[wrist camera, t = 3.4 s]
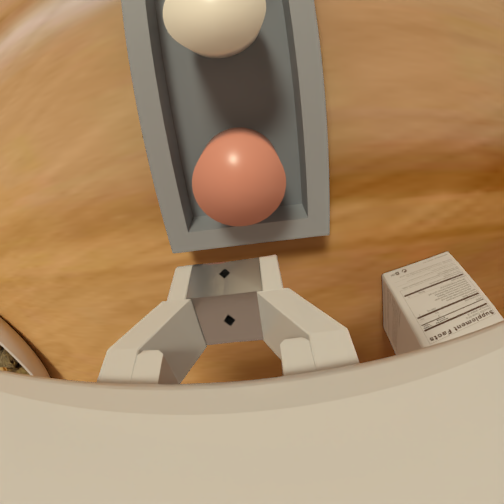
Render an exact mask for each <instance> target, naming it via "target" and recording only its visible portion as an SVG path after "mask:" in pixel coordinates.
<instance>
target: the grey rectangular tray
mask: <svg viewBox="0 0 504 504" xmlns="http://www.w3.org/2000/svg"><path fill="white" fill-rule="evenodd" d="M121 2H122V12H123V21H124V29H125V37H126V44H127V51H128V58H129V64H130V70H131V77H132V82H133V88H134V94H135V99H136V104H137V110H138V115H139V120H140V125H141V130H142V134H143V139H144V143H145V148H146V152H147V157H148V161H149V165H150V170H151V174H152V178H153V182H154V186H155V190H156V194H157V198H158V202H159V206H160V209H161V213H162V217H163V220H164V224H165V228H166V231H167V235H168V238H169V242H170V245H171V249H172V252H173V253H181V252H189V251H197V250H205V249H213V248H222V247H230V246H238V245H247V244H255V243H264V242H272V241H281V240H289V239H298V238H307V237H315V236H324V235H329V224H330V207H329V158H328V135H327V118H326V103H325V90H324V79H323V68H322V59H321V50H320V41H319V33H318V26H317V18H316V12H315V5H314V0H266V14H265V17H264V20H263V23H262V26H261V29H260V31H259V34H258V36H257V38H256V39H255V41H254V42H253V43H252V44H251V45H250V46H249V47H248V48H246V49H245V50H244V51H242V52H240V53H238V54H236V55H233V56H230V57H225V58H209V57H204V56H201V55H199V54H197V53H195V52H193V51H191V50H190V49H188V48H186V47H184V46H183V45H181V44H180V43H178V42H177V41H176V40H174V39H173V38H172V36H171V35H170V34H169V33H168V31H167V29H166V27H165V24H164V21H163V6H164V2H165V0H121ZM237 127H242V128H249V129H252V130H255V131H257V132H259V133H261V134H262V135H264V136H265V137H266V138H267V139H268V140H269V141H270V142H271V143H272V145H273V146H274V148H275V151H276V153H277V155H278V157H279V159H280V161H281V164H282V166H283V168H284V171H285V176H286V189H285V194H284V197H283V199H282V201H281V203H280V205H279V206H278V208H277V209H276V210H275V211H274V212H273V213H272V214H271V215H270V216H269V217H267V218H266V219H264V220H262V221H261V222H258V223H256V224H252V225H248V226H230V225H225V224H222V223H220V222H217V221H215V220H214V219H212V218H211V217H209V216H208V215H207V214H206V213H205V212H204V211H203V210H202V209H201V208H200V207H199V205H198V203H197V202H196V199H195V197H194V194H193V189H192V176H193V172H194V168H195V166H196V164H197V162H198V160H199V158H200V156H201V154H202V152H203V150H204V148H205V147H206V145H207V144H208V142H209V141H210V140H211V139H212V138H213V137H214V136H215V135H217V134H218V133H220V132H222V131H224V130H227V129H230V128H237Z"/></svg>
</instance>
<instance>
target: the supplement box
mask: <svg viewBox="0 0 504 504" xmlns="http://www.w3.org/2000/svg"><path fill="white" fill-rule="evenodd" d="M382 290H383V327H384V330H385V332H386V334H387V336H388V338H389V340H390V343H391V345H392V347H393V349H394V352H395V354H396V355H398V354H402V353H406V352H410V351H413V350H417V349H421V348H424V347H428V346H431V345H434V344H438V343H441V342H444V341H447V340H450V339H454V338H457V337H460V336H463V335H466V334H468V333H471V332H474V331H477V330H480V329H482V328H485V327H488V326H490V325H493V324H496V323H498V322H501V321H503V320H504V319H503V318H502V316H501V315H500V314H499V312H498V311H497V309H496V308H495V307H494V306H493V304H492V303H491V302H490V300H489V299H488V298H487V297H486V295H485V294H484V293H483V292H482V290H481V289H480V288H479V287H478V285H477V284H476V283H475V282H474V281H473V279H472V278H471V277H470V276H469V275H468V274H467V272H466V271H465V270H464V269H463V268H462V267H461V265H460V264H459V263H458V262H457V261H456V260H455V259H454V258H453V256H452V255H451V254H450V253H449V252H444V253H441V254H439V255H436V256H433V257H431V258H428V259H425V260H422V261H419V262H416V263H413V264H410V265H408V266H405V267H402V268H399V269H396V270H393V271H390V272H387V273H384V274H382Z"/></svg>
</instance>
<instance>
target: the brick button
mask: <svg viewBox="0 0 504 504" xmlns="http://www.w3.org/2000/svg"><path fill="white" fill-rule="evenodd" d="M192 189H193V194H194V197H195V199H196V202H197V203H198V205H199V207H200V208H201V209H202V210H203V211H204V212H205V213H206V214H207V215H208V216H209V217H211V218H212V219H214V220H215V221H217V222H220V223H222V224H225V225H230V226H248V225H252V224H256V223H258V222H261V221H262V220H264V219H266V218H267V217H269V216H270V215H271V214H272V213H273V212H274V211H275V210H276V209H277V208H278V206H279V205H280V203H281V201H282V199H283V197H284V194H285V189H286V176H285V171H284V168H283V166H282V164H281V161H280V159H279V157H278V155H277V153H276V151H275V148H274V146H273V145H272V143H271V142H270V141H269V140H268V139H267V138H266V137H265V136H264V135H262V134H261V133H259V132H257V131H255V130H252V129H249V128H242V127H237V128H230V129H227V130H224V131H222V132H220V133H218V134H217V135H215V136H214V137H213V138H212V139H211V140H210V141H209V142H208V144H207V145H206V147H205V148H204V150H203V152H202V154H201V156H200V158H199V160H198V162H197V164H196V166H195V168H194V172H193V176H192Z"/></svg>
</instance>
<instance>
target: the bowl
mask: <svg viewBox="0 0 504 504" xmlns="http://www.w3.org/2000/svg"><path fill="white" fill-rule="evenodd" d="M0 370H3V371H9V372H14V373H20V374H26V375H33V376H39V377H47V378H50V376H49V374H48V372H47V370H46V368H45V367H44V365H43V364H42V362H41V361H40V359H39V358H38V356H37V355H36V354H35V352H34V351H33V350H32V349H31V348H30V346H29V345H28V344H27V343H26V342H25V341H24V340H23V339H22V337H21V336H20V335H19V334H18V333H17V332H16V331H15V330H14V329H13V328H12V327H11V326H9V325H8V324H7V323H6V322H5V321H4V320H3V319H2V318H1V317H0Z"/></svg>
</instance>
